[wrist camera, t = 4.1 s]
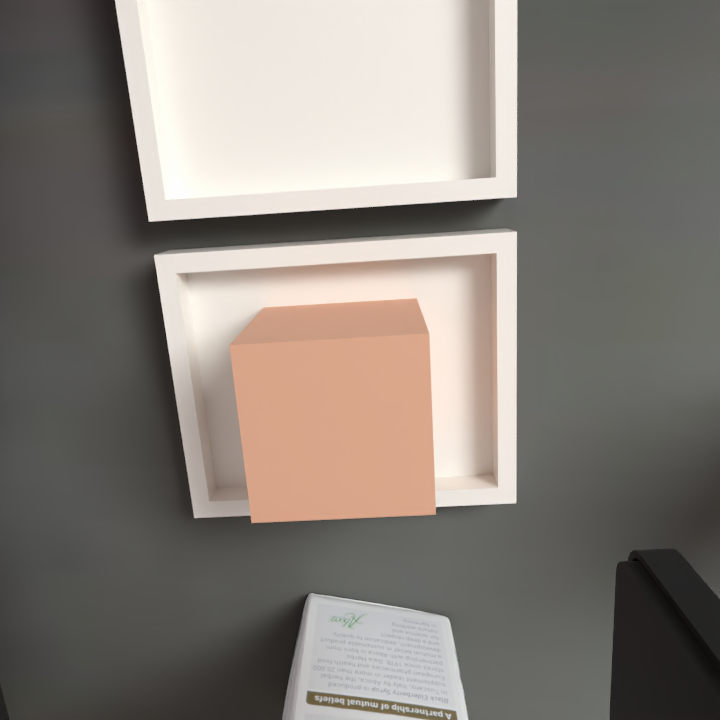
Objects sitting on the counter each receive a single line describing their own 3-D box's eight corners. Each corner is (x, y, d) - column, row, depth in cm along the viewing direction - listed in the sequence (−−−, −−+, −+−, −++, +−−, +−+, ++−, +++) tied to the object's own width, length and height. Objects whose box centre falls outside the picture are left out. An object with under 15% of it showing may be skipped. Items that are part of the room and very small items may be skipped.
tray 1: (118, -103, 18) (95, -129, 16) (505, -138, 17) (517, -167, 16) (165, 219, 20) (148, 221, 19) (506, 196, 20) (516, 197, 18)
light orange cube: (259, 307, 20) (223, 345, 16) (416, 298, 20) (429, 333, 15) (274, 448, 22) (245, 523, 17) (422, 440, 22) (435, 514, 17)
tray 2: (169, 250, 20) (153, 255, 19) (506, 228, 20) (516, 231, 19) (205, 497, 23) (194, 518, 21) (507, 482, 22) (516, 503, 21)
